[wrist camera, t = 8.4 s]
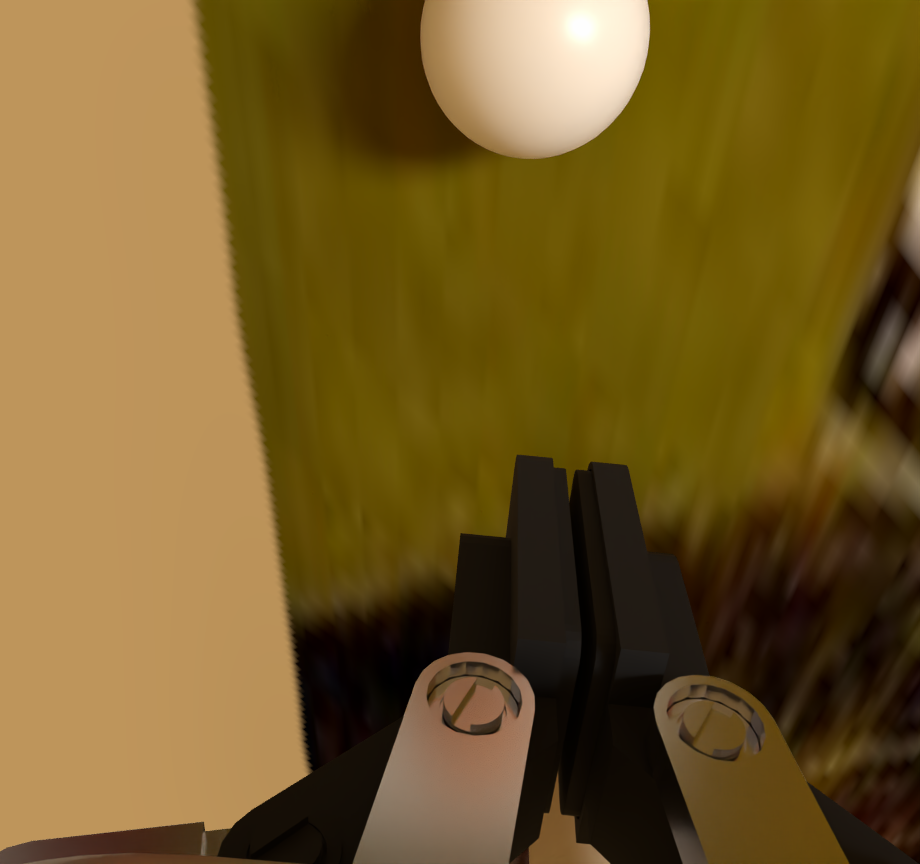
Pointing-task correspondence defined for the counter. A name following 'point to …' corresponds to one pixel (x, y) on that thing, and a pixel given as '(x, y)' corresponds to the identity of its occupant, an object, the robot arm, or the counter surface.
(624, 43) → the cue ball
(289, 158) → the counter surface
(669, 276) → the counter surface
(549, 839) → the candle
